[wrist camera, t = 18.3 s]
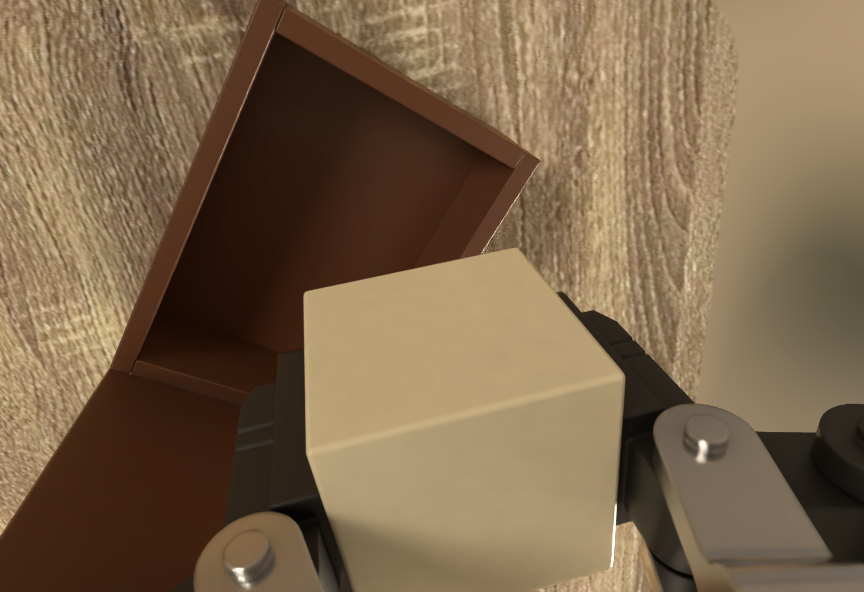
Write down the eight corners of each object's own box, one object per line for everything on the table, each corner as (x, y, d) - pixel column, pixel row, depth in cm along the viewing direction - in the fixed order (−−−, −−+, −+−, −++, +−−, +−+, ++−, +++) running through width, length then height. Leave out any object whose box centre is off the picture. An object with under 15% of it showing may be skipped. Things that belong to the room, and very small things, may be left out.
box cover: (-58, 623, 7) (-228, 1014, 7) (586, 686, 12) (505, 920, 12) (109, 367, 22) (58, 486, 22) (365, 439, 27) (327, 538, 27)
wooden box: (267, -8, 21) (260, -7, 17) (503, 134, 26) (541, 161, 22) (138, 310, 27) (109, 369, 22) (354, 381, 31) (363, 440, 27)
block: (302, 290, 10) (304, 453, 6) (518, 245, 10) (629, 374, 7) (347, 451, 12) (367, 640, 8) (526, 407, 12) (614, 569, 9)
